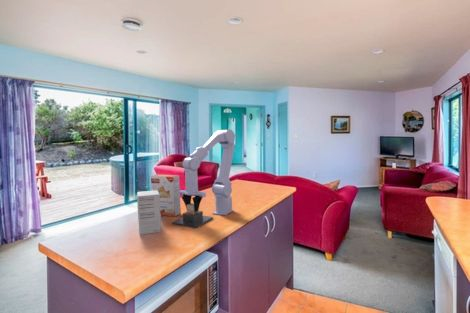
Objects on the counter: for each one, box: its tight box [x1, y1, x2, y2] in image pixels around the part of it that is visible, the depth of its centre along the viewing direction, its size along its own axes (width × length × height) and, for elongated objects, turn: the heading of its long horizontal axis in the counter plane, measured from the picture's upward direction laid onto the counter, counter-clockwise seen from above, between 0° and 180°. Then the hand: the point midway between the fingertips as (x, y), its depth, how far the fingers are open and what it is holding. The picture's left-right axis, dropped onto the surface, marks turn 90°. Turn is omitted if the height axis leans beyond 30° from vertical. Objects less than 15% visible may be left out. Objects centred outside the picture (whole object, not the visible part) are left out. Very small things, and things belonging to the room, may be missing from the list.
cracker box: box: [150, 174, 182, 217], centre depth 139 cm, size 14×6×21 cm, turn 69°
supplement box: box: [136, 190, 162, 236], centre depth 117 cm, size 10×9×17 cm
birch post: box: [185, 202, 200, 214], centre depth 127 cm, size 4×4×7 cm
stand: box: [171, 210, 214, 229], centre depth 127 cm, size 14×14×5 cm
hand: (192, 210), depth 127 cm, fingers closed on birch post, 4 cm apart
